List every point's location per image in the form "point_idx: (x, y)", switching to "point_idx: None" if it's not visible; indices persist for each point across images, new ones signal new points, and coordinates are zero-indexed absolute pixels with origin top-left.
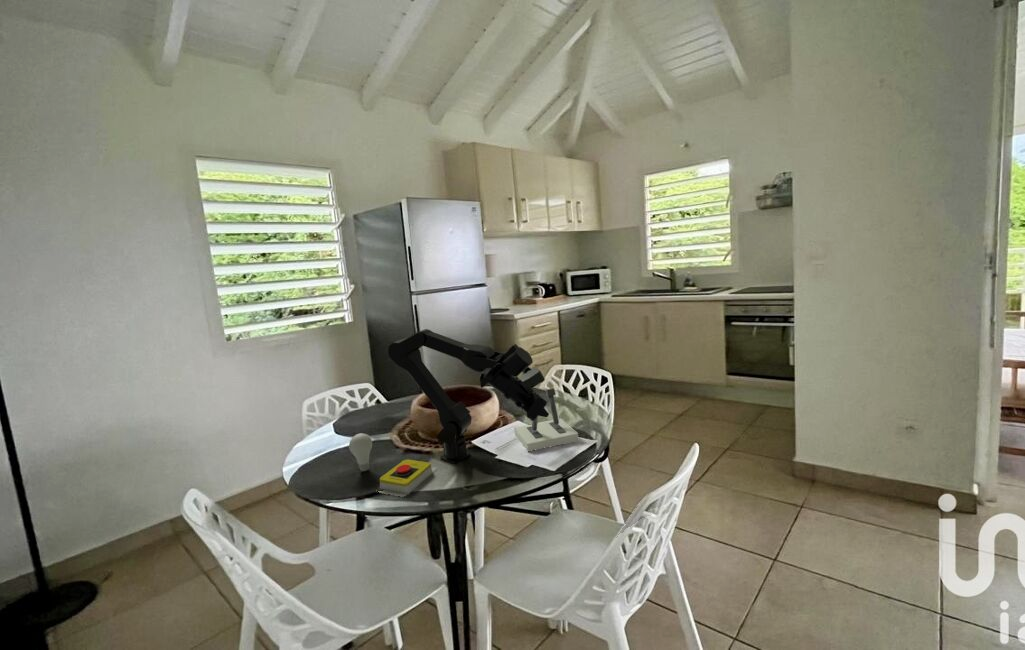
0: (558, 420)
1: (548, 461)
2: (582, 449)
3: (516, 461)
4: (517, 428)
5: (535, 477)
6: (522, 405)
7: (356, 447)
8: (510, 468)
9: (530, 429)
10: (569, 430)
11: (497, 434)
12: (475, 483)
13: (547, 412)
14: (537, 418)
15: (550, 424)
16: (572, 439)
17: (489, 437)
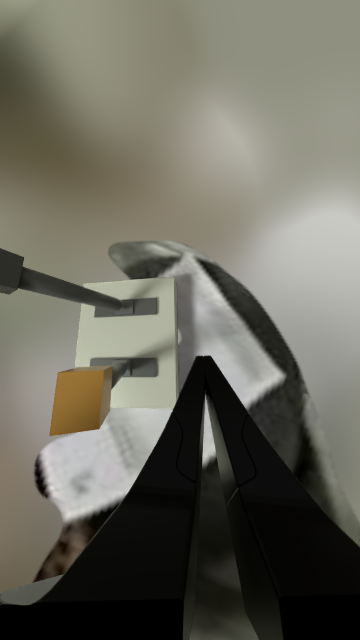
0: (115, 298)
1: (238, 372)
2: (213, 290)
3: (212, 443)
4: None
5: (303, 428)
6: (139, 603)
7: None
8: None
9: None
10: (151, 288)
11: (60, 438)
12: None
13: (217, 367)
14: (118, 368)
15: (103, 317)
16: (175, 294)
17: (64, 464)
